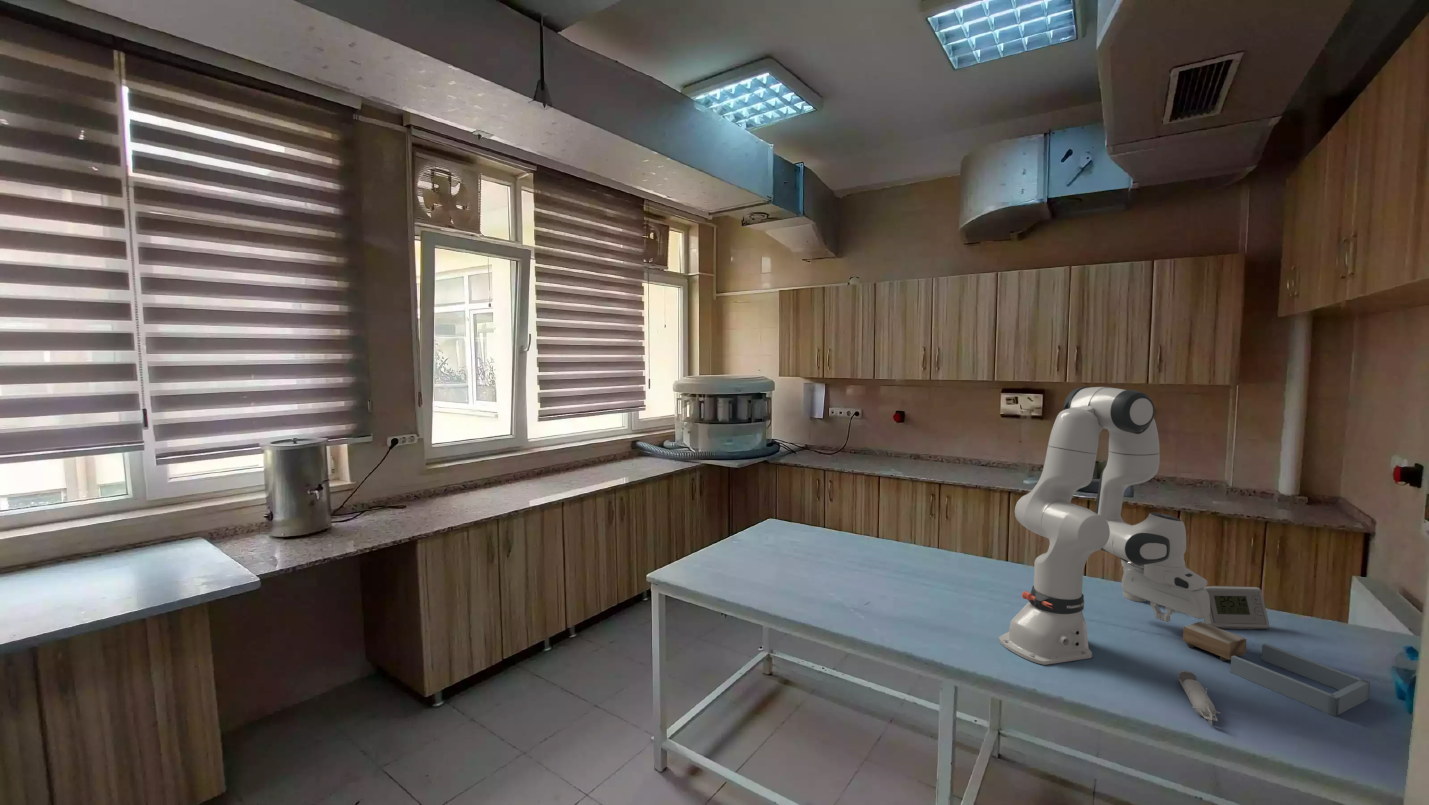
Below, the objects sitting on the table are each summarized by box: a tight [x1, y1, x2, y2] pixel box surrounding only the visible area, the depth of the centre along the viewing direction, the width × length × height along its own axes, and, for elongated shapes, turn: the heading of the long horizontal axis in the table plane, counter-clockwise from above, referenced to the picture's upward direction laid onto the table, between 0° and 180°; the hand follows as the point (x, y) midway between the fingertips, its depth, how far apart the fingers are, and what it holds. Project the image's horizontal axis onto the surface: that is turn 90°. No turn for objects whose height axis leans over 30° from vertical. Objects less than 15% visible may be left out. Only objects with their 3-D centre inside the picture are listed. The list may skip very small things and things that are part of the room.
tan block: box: [1182, 621, 1248, 662], centre depth 142 cm, size 7×10×5 cm
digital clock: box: [1203, 585, 1270, 630], centre depth 156 cm, size 16×9×11 cm, turn 72°
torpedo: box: [1178, 670, 1221, 727], centre depth 122 cm, size 18×5×7 cm, turn 154°
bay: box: [1229, 643, 1371, 717], centre depth 128 cm, size 14×18×4 cm
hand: (1162, 619), depth 154 cm, fingers closed
